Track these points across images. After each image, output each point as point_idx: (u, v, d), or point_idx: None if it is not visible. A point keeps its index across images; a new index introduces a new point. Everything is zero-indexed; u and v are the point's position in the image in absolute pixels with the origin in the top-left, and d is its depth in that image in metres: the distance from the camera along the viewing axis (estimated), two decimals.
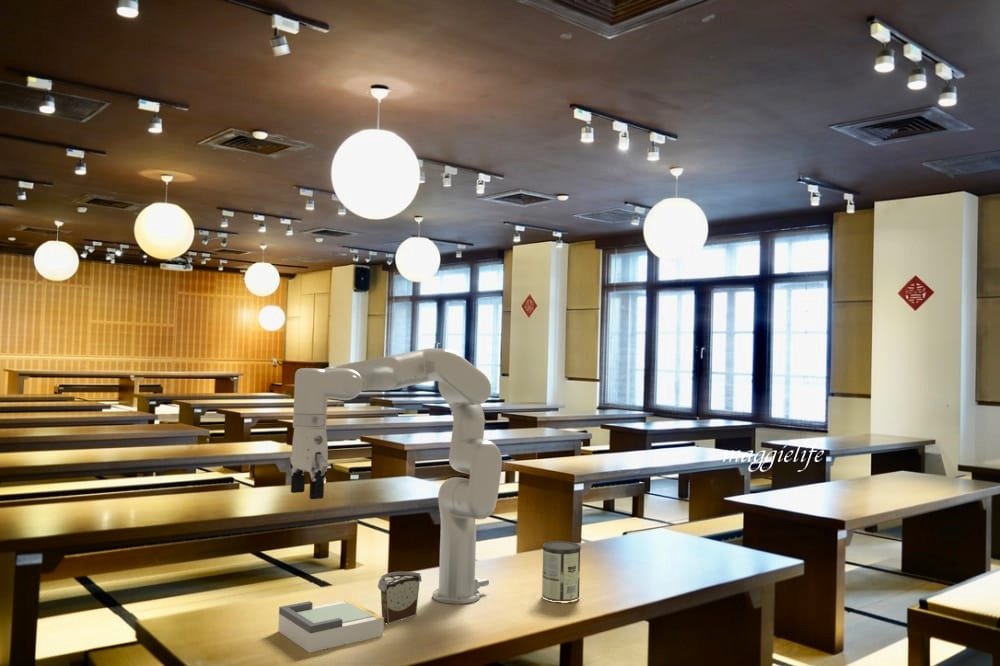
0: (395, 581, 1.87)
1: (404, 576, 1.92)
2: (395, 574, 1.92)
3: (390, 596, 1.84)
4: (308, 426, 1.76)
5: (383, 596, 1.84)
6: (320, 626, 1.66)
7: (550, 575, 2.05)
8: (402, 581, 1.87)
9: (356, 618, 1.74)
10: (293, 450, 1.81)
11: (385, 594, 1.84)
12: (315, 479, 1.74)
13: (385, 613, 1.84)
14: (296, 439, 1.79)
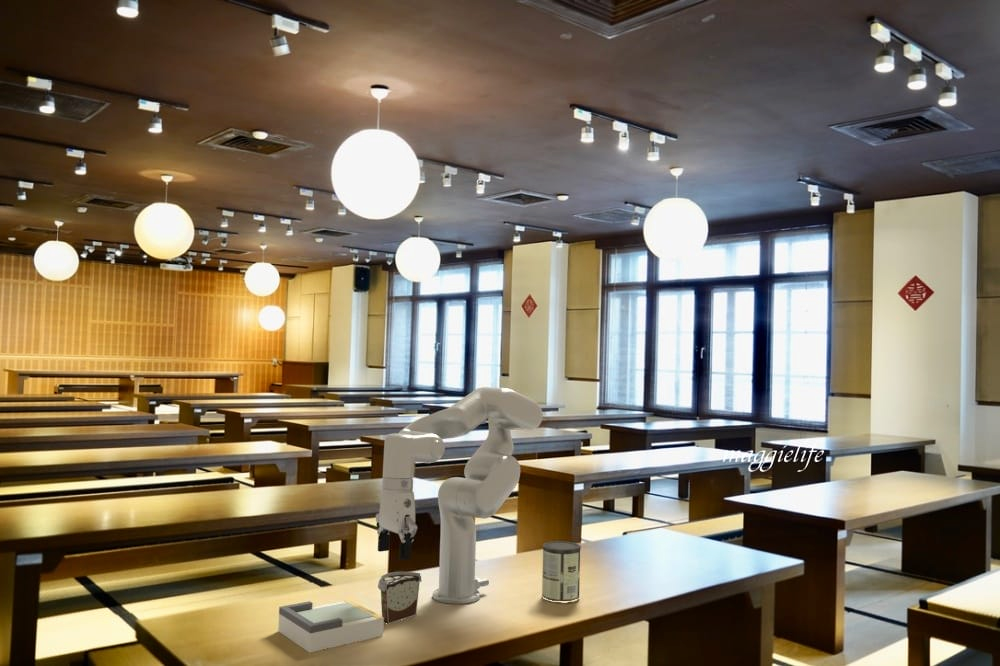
0: (395, 581, 1.87)
1: (404, 576, 1.92)
2: (395, 574, 1.92)
3: (390, 596, 1.84)
4: (398, 490, 1.87)
5: (383, 596, 1.84)
6: (320, 626, 1.66)
7: (550, 575, 2.05)
8: (402, 581, 1.87)
9: (356, 618, 1.74)
10: (381, 511, 1.91)
11: (385, 594, 1.84)
12: (405, 541, 1.84)
13: (385, 613, 1.84)
14: (385, 501, 1.89)
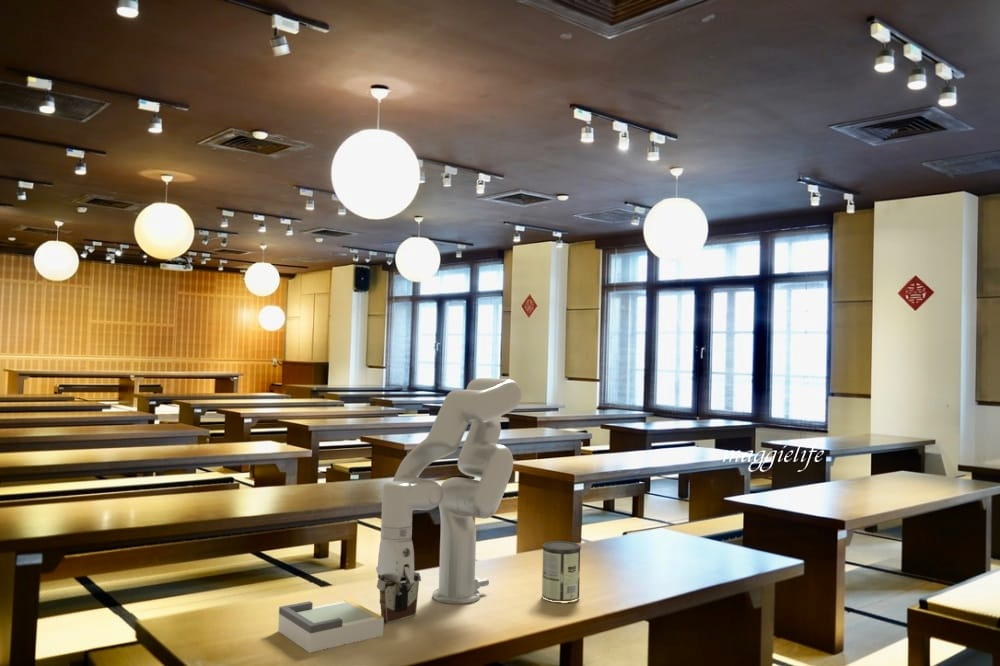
0: None
1: None
2: None
3: (388, 596, 1.84)
4: (396, 539, 1.86)
5: (382, 595, 1.84)
6: (320, 626, 1.66)
7: (550, 575, 2.05)
8: (401, 580, 1.87)
9: (356, 618, 1.74)
10: (380, 559, 1.90)
11: (383, 593, 1.84)
12: (401, 593, 1.85)
13: (384, 613, 1.84)
14: (384, 550, 1.89)
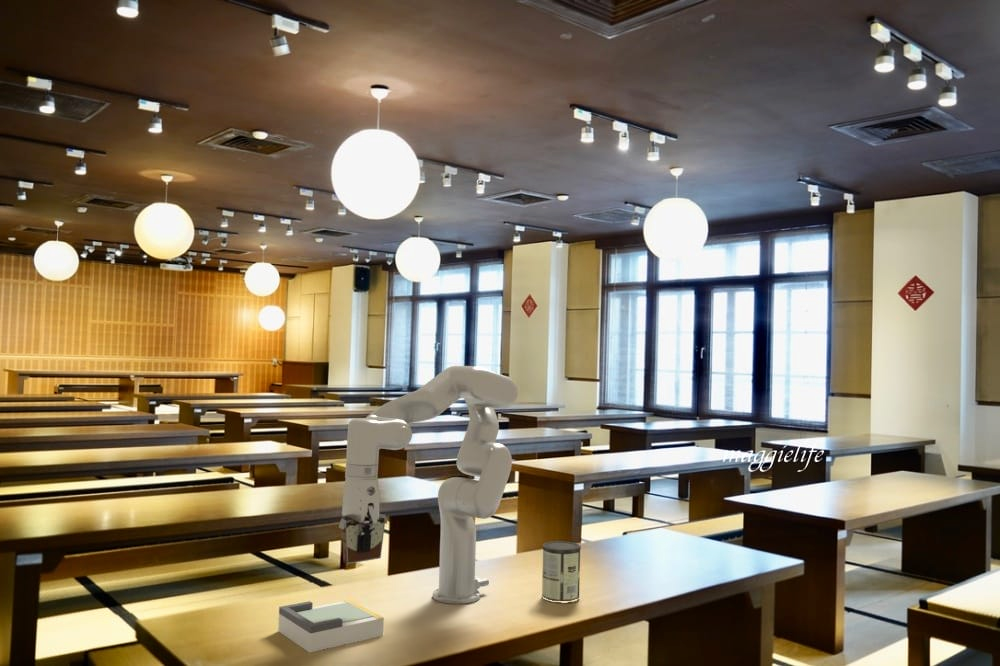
0: None
1: None
2: None
3: (349, 535, 1.77)
4: (361, 477, 1.79)
5: (343, 535, 1.77)
6: (320, 626, 1.66)
7: (550, 575, 2.05)
8: None
9: (356, 618, 1.74)
10: (344, 499, 1.83)
11: (344, 532, 1.77)
12: (363, 533, 1.78)
13: (345, 553, 1.77)
14: (348, 489, 1.82)
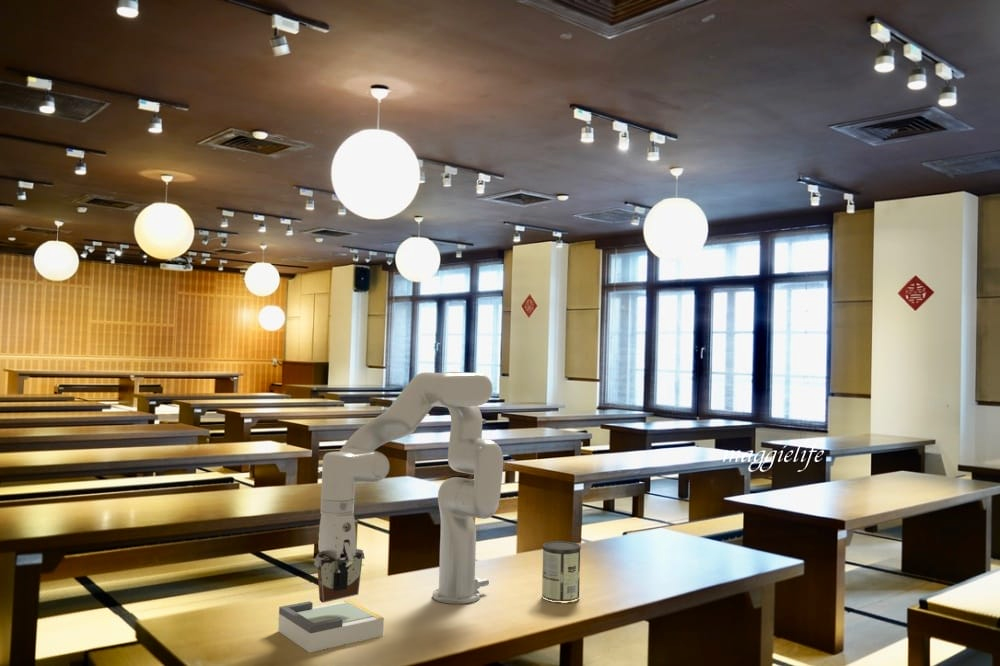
0: None
1: None
2: None
3: (325, 573, 1.72)
4: (336, 513, 1.74)
5: (318, 573, 1.73)
6: (320, 626, 1.66)
7: (550, 575, 2.05)
8: (340, 557, 1.75)
9: (356, 618, 1.74)
10: (320, 535, 1.78)
11: (320, 570, 1.72)
12: (339, 571, 1.73)
13: (321, 591, 1.72)
14: (324, 525, 1.77)
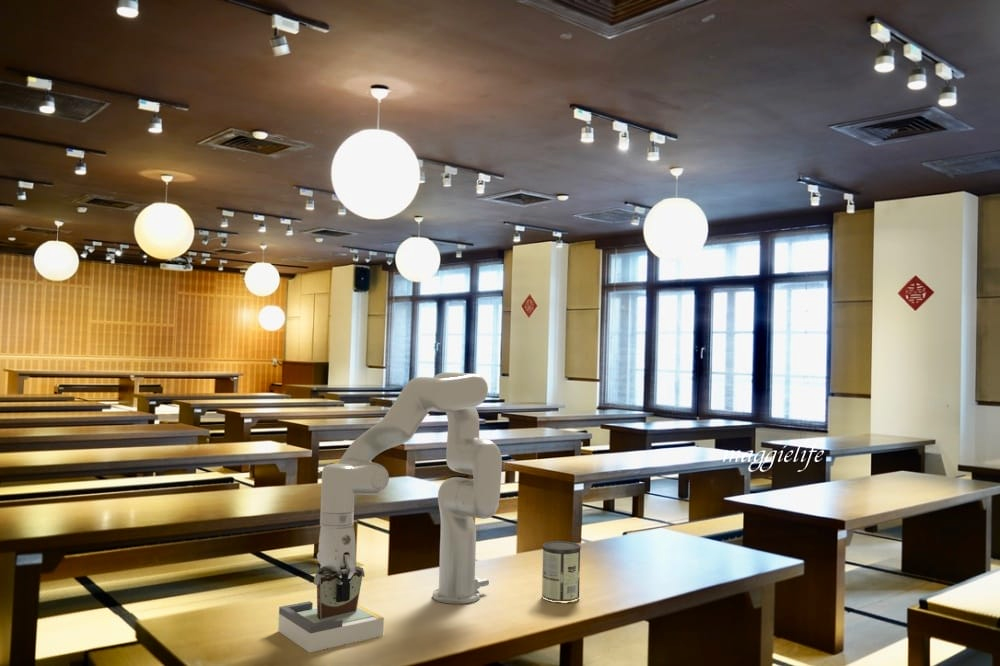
0: (333, 575, 1.75)
1: None
2: None
3: (324, 591, 1.73)
4: (336, 526, 1.74)
5: (317, 590, 1.73)
6: (320, 626, 1.66)
7: (550, 575, 2.05)
8: None
9: (356, 618, 1.74)
10: (320, 547, 1.78)
11: (319, 588, 1.72)
12: (342, 582, 1.72)
13: (319, 608, 1.73)
14: (323, 537, 1.77)
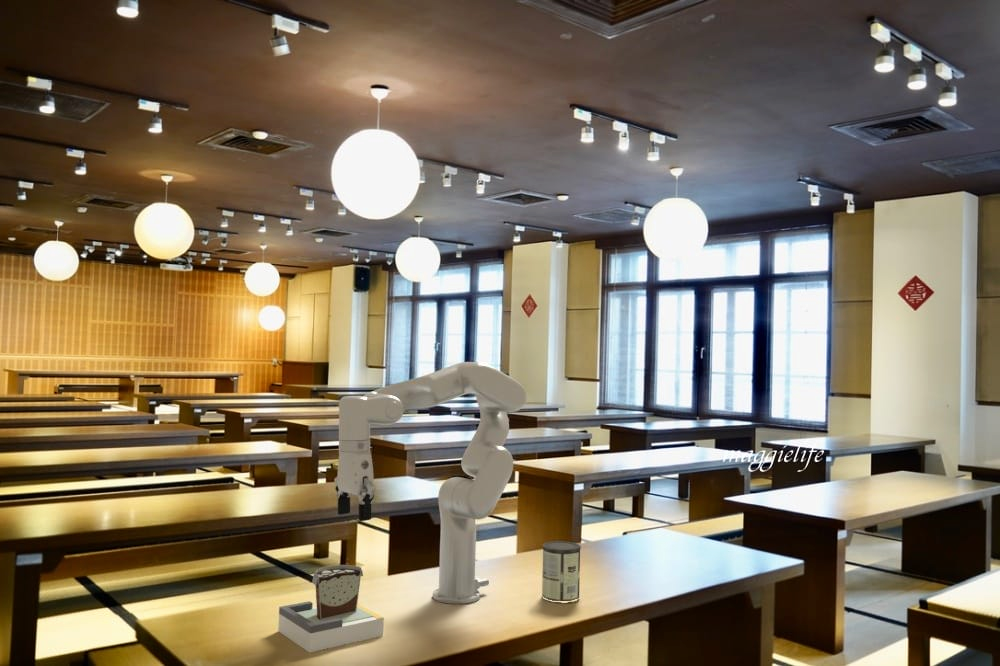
0: (331, 574, 1.76)
1: (345, 570, 1.80)
2: (336, 567, 1.81)
3: (323, 591, 1.73)
4: (354, 452, 1.85)
5: (316, 590, 1.73)
6: (320, 626, 1.66)
7: (550, 575, 2.05)
8: (339, 575, 1.76)
9: (356, 618, 1.74)
10: (339, 474, 1.90)
11: (317, 588, 1.73)
12: (364, 502, 1.83)
13: (318, 608, 1.73)
14: (342, 464, 1.88)
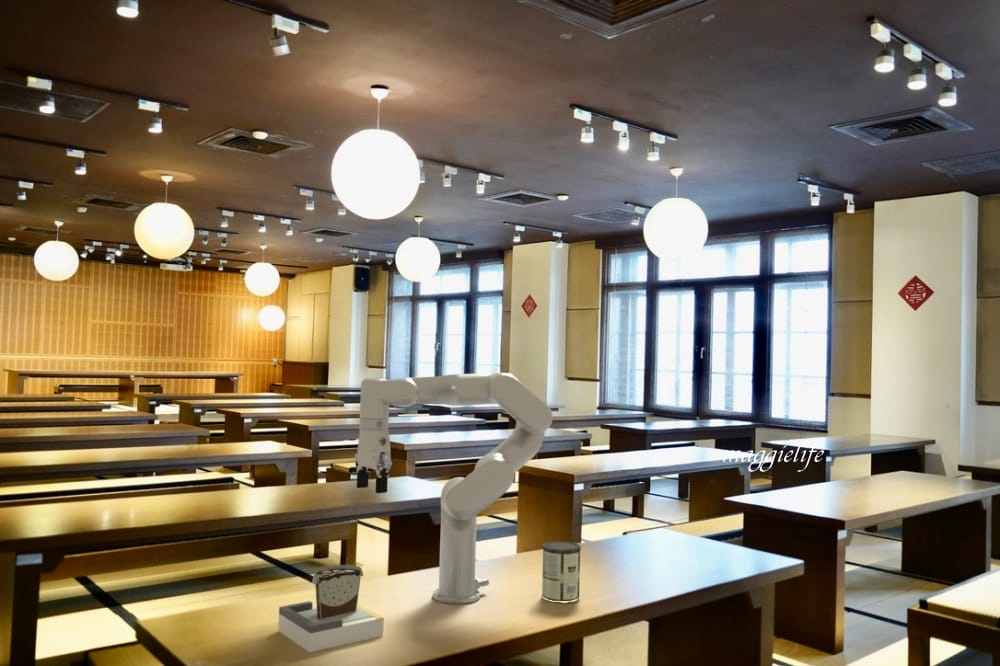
0: (331, 574, 1.76)
1: (345, 570, 1.80)
2: (336, 567, 1.81)
3: (323, 591, 1.73)
4: (374, 429, 2.01)
5: (316, 590, 1.73)
6: (320, 626, 1.66)
7: (550, 575, 2.05)
8: (339, 575, 1.76)
9: (356, 618, 1.74)
10: (359, 450, 2.05)
11: (317, 588, 1.73)
12: (380, 475, 1.99)
13: (318, 608, 1.73)
14: (362, 441, 2.04)
